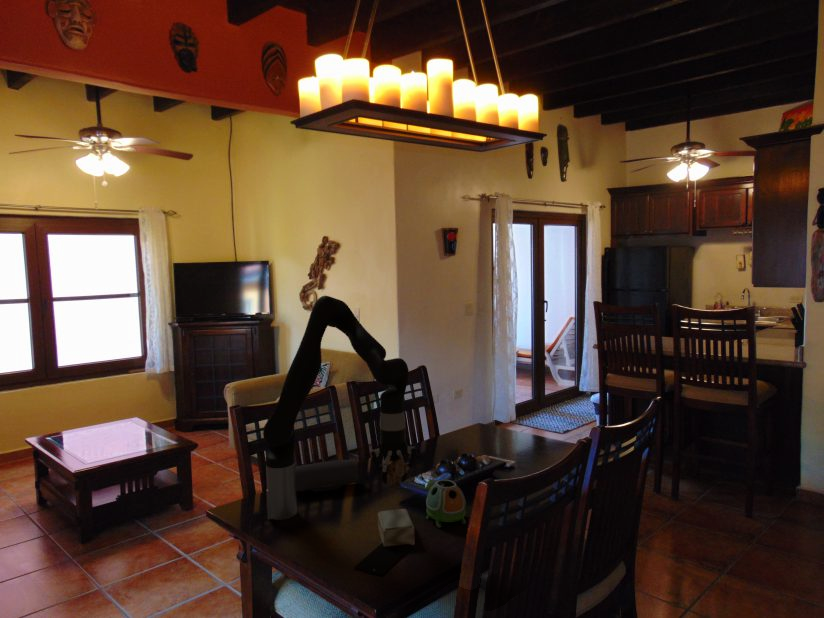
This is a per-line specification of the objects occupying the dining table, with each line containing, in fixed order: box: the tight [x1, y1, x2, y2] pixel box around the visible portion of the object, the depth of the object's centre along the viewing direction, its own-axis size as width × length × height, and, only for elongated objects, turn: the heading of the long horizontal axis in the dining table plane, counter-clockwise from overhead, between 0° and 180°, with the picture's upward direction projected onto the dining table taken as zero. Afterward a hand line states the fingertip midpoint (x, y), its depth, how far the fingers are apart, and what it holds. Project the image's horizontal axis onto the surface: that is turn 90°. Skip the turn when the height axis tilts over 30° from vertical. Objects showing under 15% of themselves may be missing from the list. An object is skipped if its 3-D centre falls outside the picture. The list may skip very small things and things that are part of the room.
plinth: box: [377, 508, 416, 547], centre depth 175 cm, size 9×13×6 cm
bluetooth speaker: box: [295, 459, 359, 493], centre depth 213 cm, size 23×9×10 cm, turn 108°
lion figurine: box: [381, 459, 410, 491], centre depth 174 cm, size 15×5×9 cm, turn 30°
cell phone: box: [353, 541, 413, 577], centre depth 162 cm, size 9×18×1 cm, turn 153°
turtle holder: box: [425, 479, 467, 528], centre depth 187 cm, size 12×18×12 cm
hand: (394, 482), depth 174 cm, fingers closed on lion figurine, 4 cm apart
